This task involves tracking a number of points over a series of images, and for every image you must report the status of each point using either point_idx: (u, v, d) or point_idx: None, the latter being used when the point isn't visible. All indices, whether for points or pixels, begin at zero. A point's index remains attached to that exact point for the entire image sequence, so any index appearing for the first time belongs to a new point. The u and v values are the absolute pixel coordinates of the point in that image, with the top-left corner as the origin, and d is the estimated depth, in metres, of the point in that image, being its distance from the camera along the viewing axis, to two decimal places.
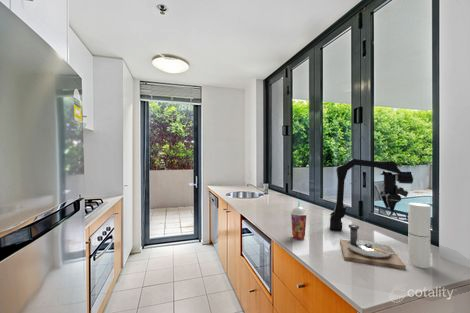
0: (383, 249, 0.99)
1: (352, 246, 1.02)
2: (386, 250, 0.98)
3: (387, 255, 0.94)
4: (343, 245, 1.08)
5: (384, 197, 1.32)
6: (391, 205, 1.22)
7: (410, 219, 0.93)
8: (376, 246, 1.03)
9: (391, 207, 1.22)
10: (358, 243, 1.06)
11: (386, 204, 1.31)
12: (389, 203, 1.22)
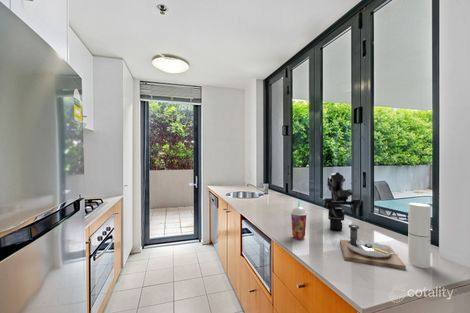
0: (383, 249, 0.99)
1: (352, 246, 1.02)
2: (386, 250, 0.98)
3: (387, 255, 0.94)
4: (343, 245, 1.08)
5: (351, 208, 1.20)
6: (332, 211, 1.19)
7: (410, 219, 0.93)
8: (376, 246, 1.03)
9: (333, 212, 1.18)
10: (358, 243, 1.06)
11: (353, 214, 1.17)
12: (330, 210, 1.20)
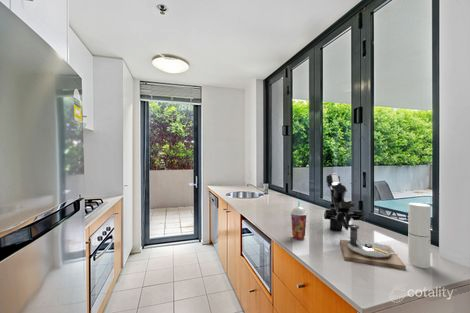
0: (383, 249, 0.99)
1: (352, 246, 1.02)
2: (386, 250, 0.98)
3: (387, 255, 0.94)
4: (343, 245, 1.08)
5: None
6: (342, 223, 1.15)
7: (410, 219, 0.93)
8: (376, 246, 1.03)
9: (343, 225, 1.15)
10: (358, 243, 1.06)
11: None
12: (340, 222, 1.17)
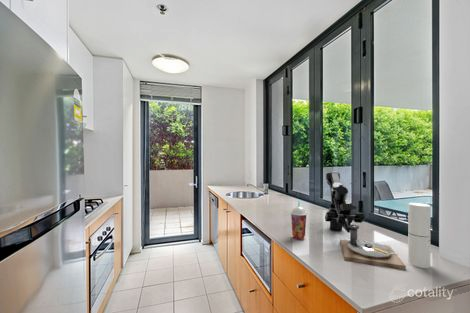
0: (383, 249, 0.99)
1: (352, 246, 1.02)
2: (386, 250, 0.98)
3: (387, 255, 0.94)
4: (343, 245, 1.08)
5: None
6: (343, 225, 1.13)
7: (410, 219, 0.93)
8: (376, 246, 1.03)
9: (345, 227, 1.13)
10: (358, 243, 1.06)
11: None
12: (341, 224, 1.15)
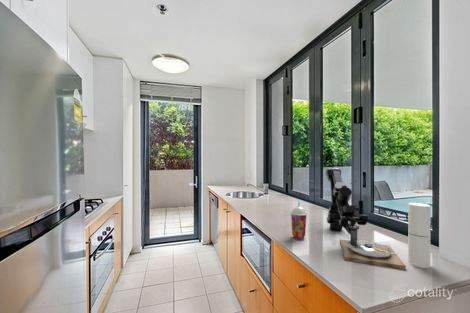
0: (383, 249, 1.00)
1: (353, 247, 1.02)
2: (386, 250, 0.99)
3: (388, 255, 0.95)
4: (343, 245, 1.08)
5: (349, 224, 1.11)
6: (346, 228, 1.09)
7: (410, 219, 0.93)
8: (375, 246, 1.03)
9: (348, 230, 1.08)
10: (358, 243, 1.06)
11: None
12: (344, 227, 1.11)
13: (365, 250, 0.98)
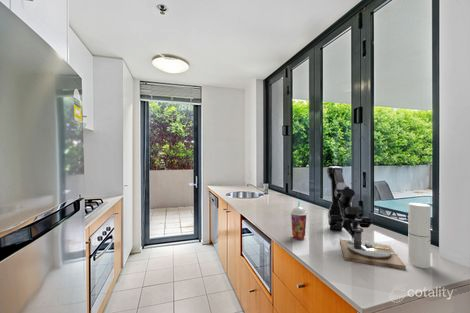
0: (379, 245, 1.03)
1: (361, 250, 0.98)
2: (382, 246, 1.03)
3: None
4: (343, 245, 1.08)
5: None
6: (348, 230, 1.05)
7: (410, 219, 0.93)
8: (370, 244, 1.05)
9: (350, 233, 1.05)
10: None
11: None
12: (346, 229, 1.07)
13: (374, 251, 0.97)
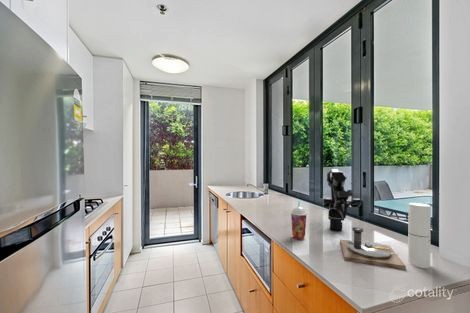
0: (379, 245, 1.03)
1: (361, 250, 0.98)
2: (382, 246, 1.03)
3: None
4: (343, 245, 1.08)
5: (342, 207, 1.19)
6: (340, 211, 1.18)
7: (410, 219, 0.93)
8: (370, 244, 1.05)
9: (341, 213, 1.17)
10: None
11: None
12: (338, 210, 1.19)
13: (374, 251, 0.97)
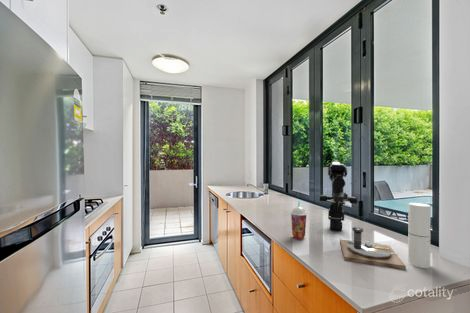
0: (379, 245, 1.03)
1: (361, 250, 0.98)
2: (382, 246, 1.03)
3: None
4: (343, 245, 1.08)
5: (338, 202, 1.23)
6: (334, 207, 1.23)
7: (410, 219, 0.93)
8: (370, 244, 1.05)
9: (335, 209, 1.23)
10: None
11: (337, 210, 1.23)
12: None
13: (374, 251, 0.97)
